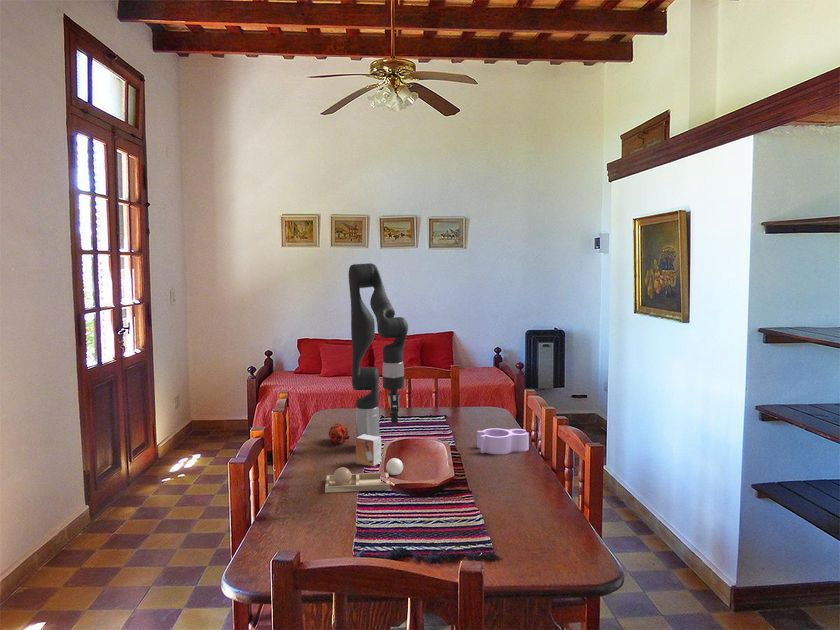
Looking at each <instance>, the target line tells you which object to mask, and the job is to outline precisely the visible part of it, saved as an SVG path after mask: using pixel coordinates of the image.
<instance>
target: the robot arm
mask: <svg viewBox="0 0 840 630" xmlns="http://www.w3.org/2000/svg"><path fill="white" fill-rule="evenodd" d="M348 284H349V285H348V286H349V297H350V326H351V327H350V328H351V329H350V330H351V332H350V335H351V348H352V351H351V353H352V354H351V355H352V357H351V358H352V359H351V360H352V361H351V387H352V389H353V390H354V391H370V392H369V393H368V394H365V395H364V396H362V397H359V398H357V399H356V401H355V420H356V424H355V426H356V427H355V428H356V429H355V430H356V438H357V437H359V436H361V435H363V434H366V435H371V436H378V437H380V410H379V408H380V405H379V404H380V403H379V400H380V399H379V390H380V389H379V384H380V373H379V368H377V367H375V366H367V367H366V366H365V367H361V366H360V365H361V364H362V363H361V362H362V359H363V357H364V356H365V353H366V352H367V350H368V349H369V348H370V346H371V345H372V343H373V340H374V339H375V335H376V330H375V329H376V328H375V327H376V326H377V333H378V335H379V336H380V337H381V338H383V339H394V340H393V342H391V343H389V344H388V343H387V344H386V345H384V346H383V347H382V374H381V375H382V388H383V389H384V390H388V392H387V399H388V400H387V401H388V406H389V416H390V417H391V418H390V423H391V424H393V425H394V424H398V423H399V419H398V418H399V415H398V414H399V411H400V410H399V407H400V392H399V391H398V390H402V389H403V388H405V366H404V348H405V342H406V339H407V335H408V330H409V325H408V322H407V320H406V319H405V318H404V317H402V316H397V317H395V315H396V313H395V312H396V311H395V307H393V305H392V303H391V301H390V299H389V298H388V296H387V292H386V289H385V287H384V282H383V280H382V276H381V273H380V271H379V269H378V267H377V266H376V264H375V263H370V262H369V263H368V262H367V263H358V264H357V263H354V264H351V265H350V266H349V268H348ZM367 288H373V292H372V294H371V297H370V300H369V301H370V304H369V305H370V308H371V310H372V312H370V310H369V308H368V307H367V306H366V304H365V303H364V301H363V299H362V296H361V289H367ZM372 313H373V314H374V316H375V318H374V316H373V314H372ZM375 319H376V323H375ZM375 324H376V325H375Z"/></svg>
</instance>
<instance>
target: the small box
mask: <svg viewBox="0 0 840 630" xmlns="http://www.w3.org/2000/svg"><path fill="white" fill-rule="evenodd" d="M380 462H381V463H382V437H381V436H379V437H378V436H371V435H366V434H363V435H361V436H359V437H357V436H356V437H355V464H356V465H363V466H364V465H365V466H370V467H376V466H377V465H379V464H381V463H380Z"/></svg>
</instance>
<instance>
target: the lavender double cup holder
mask: <svg viewBox="0 0 840 630" xmlns="http://www.w3.org/2000/svg"><path fill="white" fill-rule="evenodd" d="M529 441H530V433H529V432H527V430H526V429H523V428H511V429H505V428H496V427H495V428H487V429H483V430H476V448H478V449H480V454H484V453H486V454H491V455H507V454H510V453H512V452H520V453H521V452H527V451H529V450H530V448H529V446H530V445H529V444H530V442H529Z"/></svg>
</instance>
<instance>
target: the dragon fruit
mask: <svg viewBox="0 0 840 630" xmlns="http://www.w3.org/2000/svg"><path fill="white" fill-rule="evenodd" d="M348 429H349V427H348V426H347V425H344V424H343V423H342V422H341V423H338V422H337V423H334V424H333V425H332V426H331V427H330V428H329V431H328V437H329V440H330V441H331V442H332V443H333V444H334V445H339V444H340V443H341V444H342V443H345V442H346V441H347V440H349V439H350V438H351V435H349V434H350V433H349V430H348Z"/></svg>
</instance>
